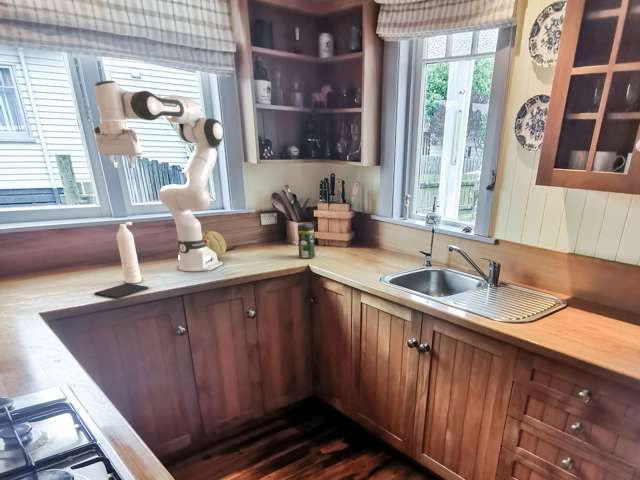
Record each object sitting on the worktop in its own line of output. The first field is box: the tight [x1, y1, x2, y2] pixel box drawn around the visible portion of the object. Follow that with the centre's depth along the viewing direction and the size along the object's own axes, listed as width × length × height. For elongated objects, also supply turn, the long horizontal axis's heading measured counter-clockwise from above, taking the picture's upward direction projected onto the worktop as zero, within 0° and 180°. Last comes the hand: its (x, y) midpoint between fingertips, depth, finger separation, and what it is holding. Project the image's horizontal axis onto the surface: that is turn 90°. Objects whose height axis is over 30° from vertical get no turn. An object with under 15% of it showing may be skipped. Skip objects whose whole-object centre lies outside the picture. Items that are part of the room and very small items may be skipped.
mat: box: [94, 282, 149, 299], centre depth 194 cm, size 16×12×1 cm
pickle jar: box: [297, 222, 316, 260], centre depth 257 cm, size 10×8×19 cm
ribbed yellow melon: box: [202, 230, 227, 259], centre depth 247 cm, size 15×15×15 cm
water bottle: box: [116, 221, 142, 284], centre depth 203 cm, size 9×6×25 cm
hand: (123, 167), depth 185 cm, fingers open, 8 cm apart
